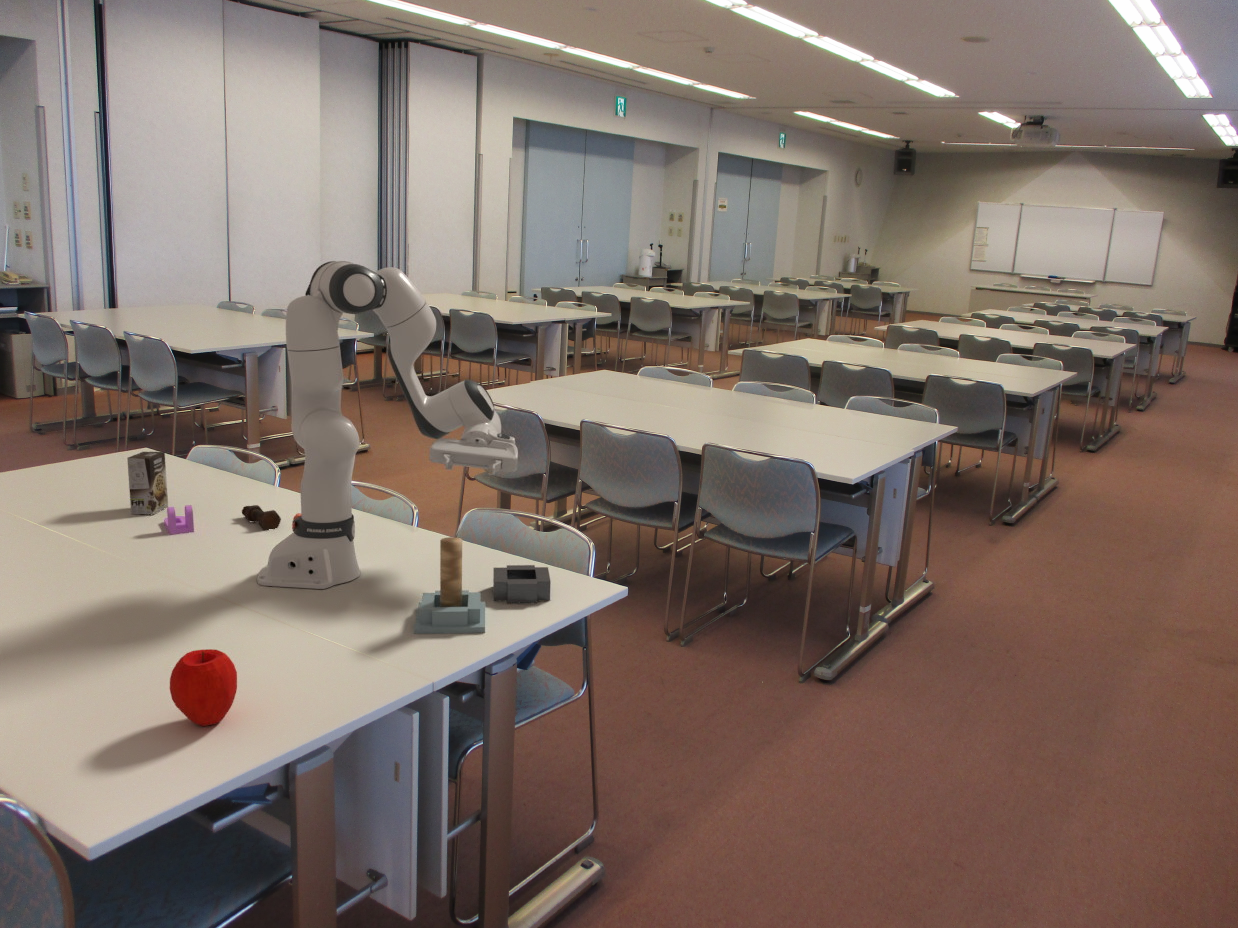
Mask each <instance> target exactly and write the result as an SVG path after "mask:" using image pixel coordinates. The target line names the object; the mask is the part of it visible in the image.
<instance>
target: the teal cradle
mask: <svg viewBox="0 0 1238 928" xmlns="http://www.w3.org/2000/svg"><path fill="white" fill-rule="evenodd" d="M481 596H482V595H481V591H480V592H478V591H477V592H475V591H474V592H473V591H471V592H469V590H467V589H465V590H464V589H462V607H440V590H435V591H434V592H422V596H421V600H420V601H421V602H418V606H417V611H416V615H415V616H416V617H415V620H414V625H413V634H415V635H421V634H422V635H425V634H426V635H427V634H435V635H436V634H481V633H482V634H484V633H486V601H481Z"/></svg>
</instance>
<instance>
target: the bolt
mask: <svg viewBox="0 0 1238 928" xmlns="http://www.w3.org/2000/svg"><path fill="white" fill-rule="evenodd" d="M241 513H242V516H244V518H245V519H246V520H247V521H248V522H249V521H256V522H257V523H258V524H259V525H260V527H261V528H262V530H264V531H270V530H269V529H273V530H276V529H275V528H277V529H278V528H279V526H280V524H281V522H282V521H281V520H282V519H281V516H280V514H279V513H278V512H277V511H276V510H274V509H272V510H267V511H264V510H263V509H262V508H261V506H259V504H253V505H246V506H243V507H242V510H241Z"/></svg>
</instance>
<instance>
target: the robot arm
mask: <svg viewBox="0 0 1238 928" xmlns="http://www.w3.org/2000/svg"><path fill="white" fill-rule="evenodd" d="M304 294H305V295H303V296H300V297H297V298H295V299H293V300H291V301H290V302H289V303H288V305H287V308H286V312H285V342H286V349H287V350H286V351H287V359H288V366H289V375H290V382H291V383H290V384H291V424H290V426H291V427H290V428H291V434H292V436H293V439H294V441H295V442H296V443H297V445H298V446H299V447H301V448H302V449H303V451H304V466H303V467H304V468H303V473H302V479H301V481H300V485H299V487H300V489H299V490H300V510H301V511H300V512H301V513H300V512H297V513H295V515H294V516H293V518H292V524H291V528H292V533H291V534H289V535H288V536H286V537H285V538H284V539H283V540H281V541H280V542H279V543H277V544H276V545H275V546H274V547H273V548H272V550H271V551H270V553H269V556H268V561H267V564H266V565H265V566H264V567H262V568H261V569H260V570H259V572H258V574H257V579H256V581H257V583H258V585H260V586H265V587H267V586H268V587H270V586H271V587H281V588H282V587H283V588H297V589H298V588H300V589H301V588H302V589H319V590H322V589H323V590H325V589H328V588H330V587H333V586H335V585H339V584H344V583H348V582H350V581H353V580H356V579H357V578H358V577H360V575H361V572H362V571H361V570H360V567H359V563H358V560H357V554H356V550H355V543H354V539H355V536H356V531H355V530H356V529H355V528H356V527H355V515H354V514H353V513H352V512H353V510H352V509H353V507H352V504H353V503H352V501H353V500H352V481H353V480H352V479H353V472H354V466H355V460H356V454H357V452H358V450H359V447H360V436H359V432H358V430H357V429H356V426H355V425H354V424H353V422H352V421H351V420H350V419H349V418H347V417H346V416H344V415H343V413H342V409H341V408H342V407H341V402H342V400H341V399H342V388H343V384H344V380H345V379H344V372H343V371H344V370H343V364H342V363H343V362H342V356H341V345H340V339H339V332H338V331H339V322H340V320H341V317H342V316H343V314H349V315H359V314H363V313H367V312H370V311H372V312H374V313H375V314H376V315H377V316H378V319H379V320H380V321H381V323H382V324H383V326H384V327H385V329H386V331H387V333H388V336H389V340H390V341H389V342H390V344H389V345H388V347H387V357H388V360H389V362H390V367H391V368H392V371H393V373H394V375H395V377H396V380H397V382H398V384H399V387H400V388H401V391H402V393H403V395H404V397H405V399H406V401H407V404H408V406H409V408H410V410H411V411H410V412H411V414H412V417H413V420H414V422H415V424H416V427H417V429H418V431H419V432H420V433H421V435H423V436H424V437H427V438H429V439H434V441H433V442H432V444H431V445H430V447H429V458H428V459H429V461H430V462H431V463H434V464H442V465H444V466H445V470H449V471H453V469H454V466H459V467H468V468H475V469H476V468H477V469H482V470H483V469H485V470H487V475H491V476H494V475H495V474H496V473H498V472H500V471H501V472H508V473H509V472H510V473H513V472H516V471H517V470H518V469H517V468H518V459H519V449H518V447H517V445H516V438H515V437H513V436H510V435H507V434H503V433H502V422H501V417H500V415H499V414H498V413H497V412H496V410H495V404H494V401H493V399H492V398H491V395H490V393H489V392H488V390H486V389H487V388H485V387H484V386H483V385H482V384H480V383H478V382H476V381H474V380H471V379H465V380H463V381H460V382H458V383H456V384H454V385H452V386H450V387H448V388H447V389H444V390H443V391H440V392H439V393H436V394H435V395H431V396H429V395H426V393H425V391H424V388H423V386H422V384H421V382H420V380H419V377H418V376H417V372H416V370H415V366H414V364H415V362H416V360H417V359H418V358H419V357H420V356H421V355H422V353H423V352H424V351H426V349H427V348H428V346H429V345H430V343H431V342H432V340H433V339H434V336H435V334H436V331H437V330H436V329H437V319H436V316H435V315H434V312H433V310H432V309H431V306H430V305H429V304H428V301H427V300H426V298H425V297H424V296H423V294H422V293H421V292H420V290H419V289H418V287H417V286H416V285H415V284H414V282H412V281H411V279H410V278H409V277H408V276H407V275H406V273H404V272H403V271H402V270H401V269H400V268H397V267H392V266H389V267H384V268H380V269H379V270H377V271H376V272H375V271H373V270H371V269H370V268H369V267H366V266H363V265H360V264H356V263H353V262H350V261H347V260H346V261H345V260H338V261H336V260H333V261H327V262H325V263H322V264H321V265H319V266H318V267H317V268H316V269H315V271H313V273H312V276H311V279H310V282H309V284H308V287H307V289H306V290H305V293H304ZM463 426H464V430H463V432H462V433H461V437H460V439H456V438H455V439H454V438H445V436H447V435H449V434H450V433H452V432H454V431H455V430H457V429H459V428H462V427H463Z"/></svg>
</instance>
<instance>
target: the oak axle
mask: <svg viewBox="0 0 1238 928" xmlns="http://www.w3.org/2000/svg"><path fill="white" fill-rule="evenodd" d="M439 543H440V546H439V547H440V550H439V551H440V552H439V554H440V556H439V557H440V559H439V562H440V564H439V565H440V567H439V568H440V569H439V570H440V571H439V572H440V575H439V576H440V580H439V581H440V583H439V585H440V589H439V591H440V607H462V590H463V539H462V538H460V537H455V536H454V537H452V536H451V537H444V538H440V542H439Z"/></svg>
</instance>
